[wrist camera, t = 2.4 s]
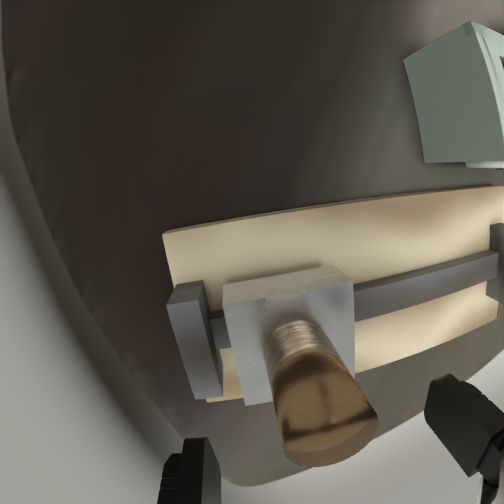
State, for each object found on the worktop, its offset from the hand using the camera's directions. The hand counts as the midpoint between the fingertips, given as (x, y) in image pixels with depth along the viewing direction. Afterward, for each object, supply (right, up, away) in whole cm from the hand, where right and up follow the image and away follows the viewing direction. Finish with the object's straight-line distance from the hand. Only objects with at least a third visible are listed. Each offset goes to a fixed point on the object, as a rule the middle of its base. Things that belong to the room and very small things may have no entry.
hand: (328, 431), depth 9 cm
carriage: (-1, +2, +9) cm, 9 cm away
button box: (+13, +17, +9) cm, 23 cm away
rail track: (+6, +4, +11) cm, 13 cm away
